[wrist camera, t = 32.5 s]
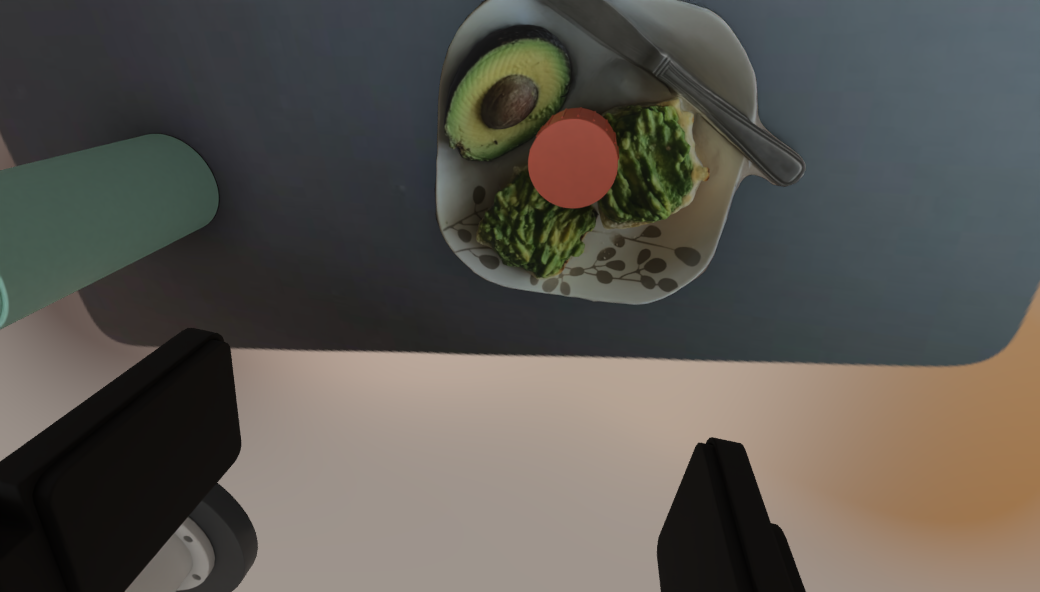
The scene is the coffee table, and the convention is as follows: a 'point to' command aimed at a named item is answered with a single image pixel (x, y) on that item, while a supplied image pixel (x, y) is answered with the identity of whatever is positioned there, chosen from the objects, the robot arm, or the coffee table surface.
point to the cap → (574, 158)
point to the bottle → (95, 216)
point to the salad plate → (639, 134)
